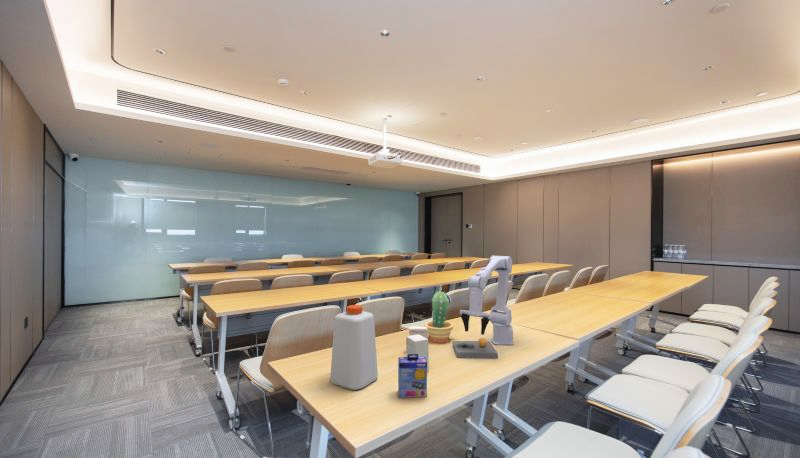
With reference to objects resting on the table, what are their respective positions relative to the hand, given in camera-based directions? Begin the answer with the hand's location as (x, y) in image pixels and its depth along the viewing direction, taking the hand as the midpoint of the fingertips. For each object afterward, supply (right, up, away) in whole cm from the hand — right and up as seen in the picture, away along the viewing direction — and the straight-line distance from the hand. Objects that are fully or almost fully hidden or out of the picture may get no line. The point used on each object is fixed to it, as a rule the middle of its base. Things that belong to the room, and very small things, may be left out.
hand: (474, 332), depth 152 cm
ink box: (-25, -11, +4) cm, 28 cm away
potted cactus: (-13, -11, +23) cm, 29 cm away
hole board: (+1, -11, +5) cm, 12 cm away
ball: (+5, -6, +5) cm, 10 cm away
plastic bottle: (-51, -11, -25) cm, 58 cm away
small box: (-27, -11, -15) cm, 32 cm away
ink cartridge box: (-29, -11, -36) cm, 47 cm away
